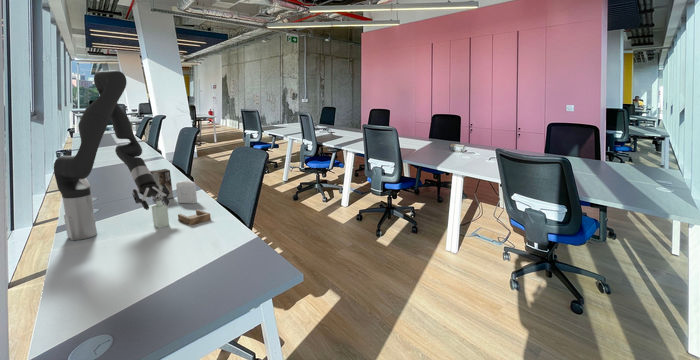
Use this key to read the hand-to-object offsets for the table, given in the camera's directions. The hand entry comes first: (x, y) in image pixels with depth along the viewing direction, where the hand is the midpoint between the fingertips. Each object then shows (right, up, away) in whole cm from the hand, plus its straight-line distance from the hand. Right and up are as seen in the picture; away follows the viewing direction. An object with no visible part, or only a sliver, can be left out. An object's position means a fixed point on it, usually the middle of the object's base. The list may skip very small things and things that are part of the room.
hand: (157, 206), depth 161 cm
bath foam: (-52, -3, +26) cm, 58 cm away
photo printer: (-3, -1, +36) cm, 36 cm away
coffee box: (-21, +1, +45) cm, 50 cm away
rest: (+13, -7, +8) cm, 17 cm away
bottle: (+1, -8, +1) cm, 9 cm away
